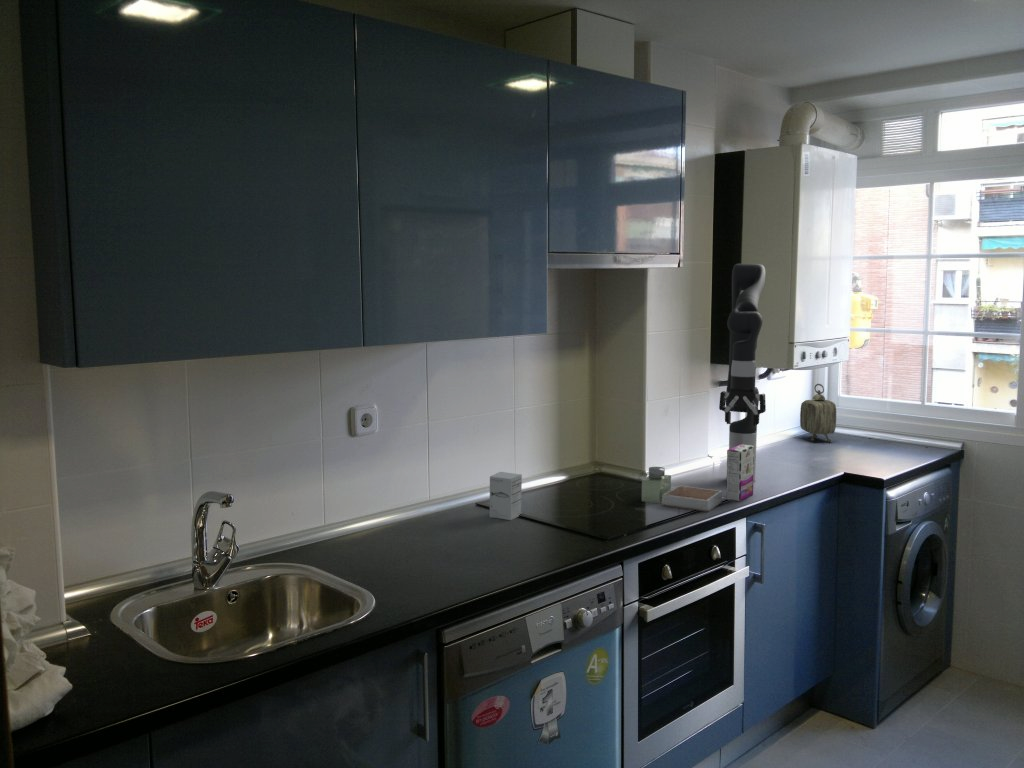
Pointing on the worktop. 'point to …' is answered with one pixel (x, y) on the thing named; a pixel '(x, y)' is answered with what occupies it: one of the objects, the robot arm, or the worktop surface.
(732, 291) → the robot arm
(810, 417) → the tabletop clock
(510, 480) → the supplement box
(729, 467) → the candy bar box
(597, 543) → the worktop surface
